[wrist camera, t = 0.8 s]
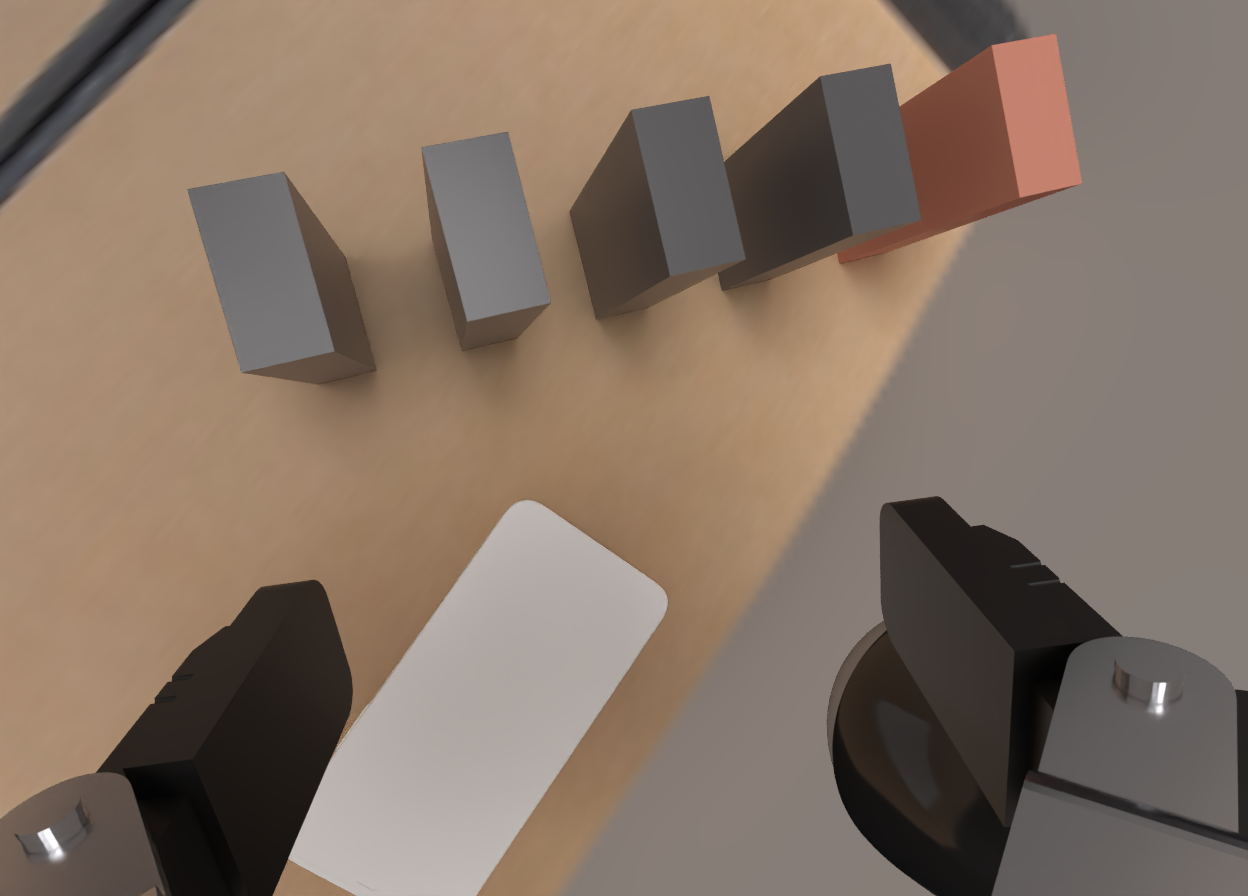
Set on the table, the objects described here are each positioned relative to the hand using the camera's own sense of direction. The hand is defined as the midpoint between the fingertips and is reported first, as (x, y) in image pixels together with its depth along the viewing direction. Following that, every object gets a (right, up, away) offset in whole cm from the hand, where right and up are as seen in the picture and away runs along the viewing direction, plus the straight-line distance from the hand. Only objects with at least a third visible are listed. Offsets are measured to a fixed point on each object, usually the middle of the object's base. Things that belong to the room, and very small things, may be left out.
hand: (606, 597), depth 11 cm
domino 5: (+9, +12, +20) cm, 24 cm away
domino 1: (-10, +7, +16) cm, 20 cm away
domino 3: (0, +9, +18) cm, 20 cm away
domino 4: (+4, +10, +19) cm, 22 cm away
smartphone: (-5, -8, +18) cm, 20 cm away
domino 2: (-5, +8, +17) cm, 19 cm away
